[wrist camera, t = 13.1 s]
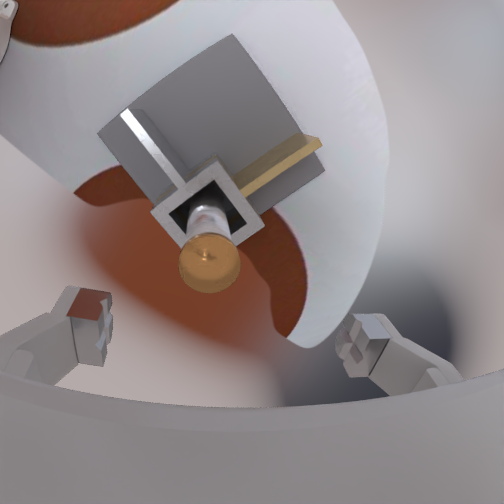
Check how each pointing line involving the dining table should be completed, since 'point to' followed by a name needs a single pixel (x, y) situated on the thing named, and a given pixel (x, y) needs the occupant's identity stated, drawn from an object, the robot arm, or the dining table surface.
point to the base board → (213, 124)
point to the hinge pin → (208, 244)
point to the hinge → (213, 178)
